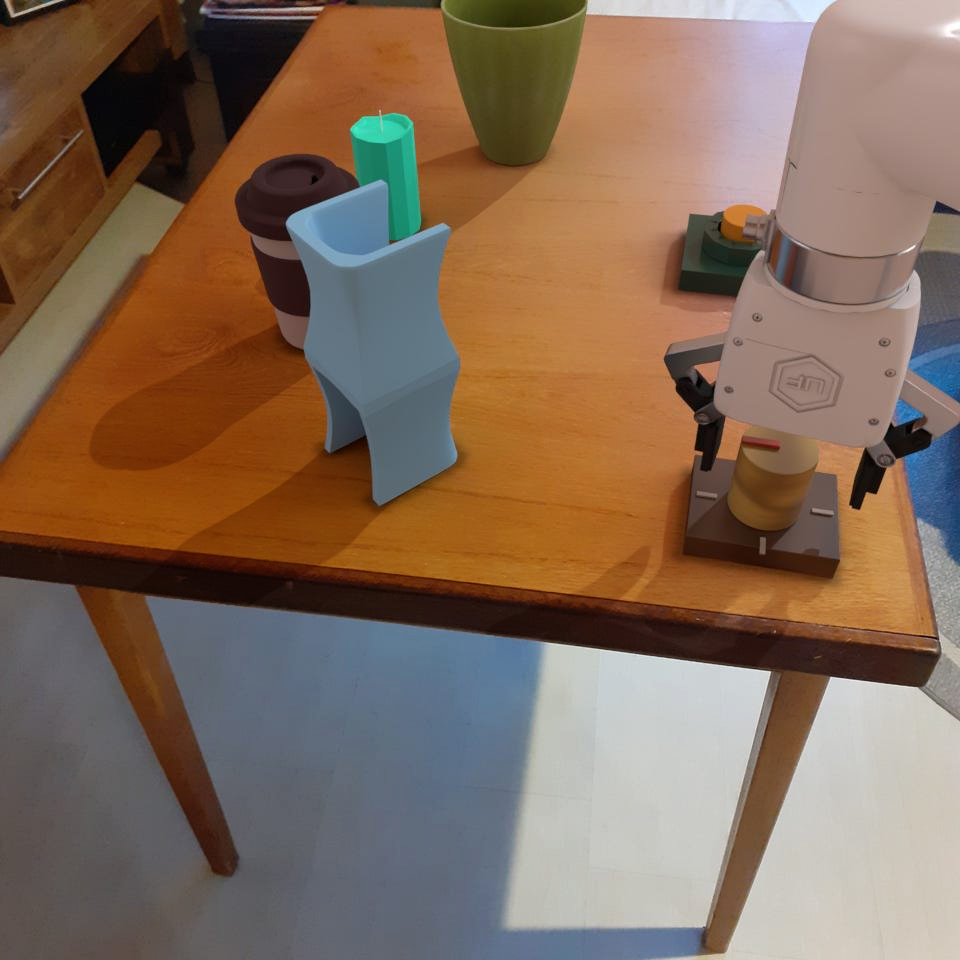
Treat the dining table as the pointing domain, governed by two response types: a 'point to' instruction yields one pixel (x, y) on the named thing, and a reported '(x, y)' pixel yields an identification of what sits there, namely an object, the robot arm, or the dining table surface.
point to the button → (737, 221)
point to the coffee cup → (265, 214)
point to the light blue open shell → (379, 336)
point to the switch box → (714, 258)
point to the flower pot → (514, 70)
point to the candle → (390, 167)
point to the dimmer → (731, 540)
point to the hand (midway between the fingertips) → (781, 475)
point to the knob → (772, 478)
